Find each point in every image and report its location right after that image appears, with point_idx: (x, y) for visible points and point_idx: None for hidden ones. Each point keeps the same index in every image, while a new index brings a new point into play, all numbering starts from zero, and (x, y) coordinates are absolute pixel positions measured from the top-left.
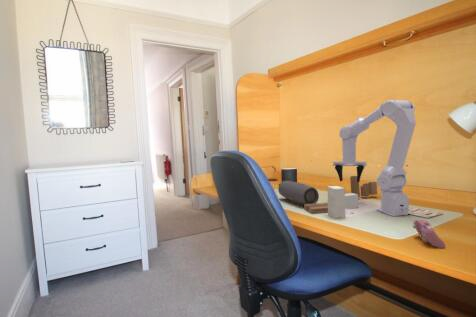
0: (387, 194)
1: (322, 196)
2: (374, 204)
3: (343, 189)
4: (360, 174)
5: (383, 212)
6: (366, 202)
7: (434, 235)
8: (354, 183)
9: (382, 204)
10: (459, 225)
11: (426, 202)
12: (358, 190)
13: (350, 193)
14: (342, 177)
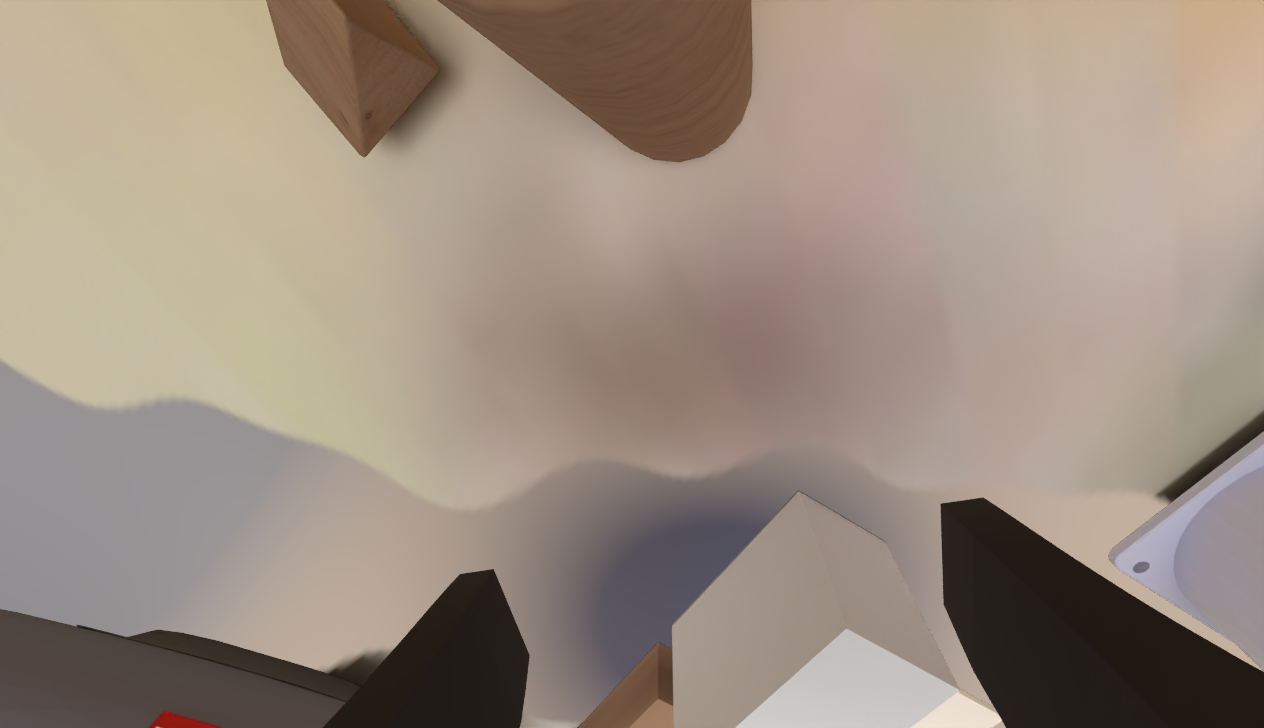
0: None
1: (150, 233)
2: (1037, 258)
3: None
4: (1206, 691)
5: (1191, 615)
6: (900, 205)
7: None
8: (653, 96)
9: (1255, 662)
10: None
11: None
12: (746, 73)
13: (824, 666)
14: (456, 634)
